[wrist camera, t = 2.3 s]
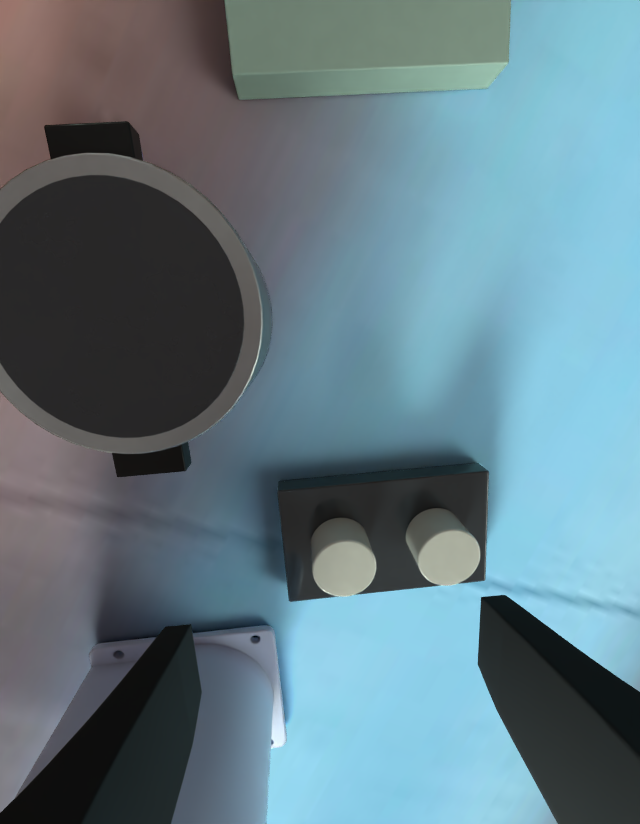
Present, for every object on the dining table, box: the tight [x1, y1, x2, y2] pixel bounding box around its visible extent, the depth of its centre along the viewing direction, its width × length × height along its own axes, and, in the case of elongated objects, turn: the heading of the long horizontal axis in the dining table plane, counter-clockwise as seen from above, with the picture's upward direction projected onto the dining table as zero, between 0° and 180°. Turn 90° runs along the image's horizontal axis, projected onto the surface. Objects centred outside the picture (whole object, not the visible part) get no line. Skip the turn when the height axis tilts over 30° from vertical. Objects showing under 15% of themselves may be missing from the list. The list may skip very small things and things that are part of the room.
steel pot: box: [0, 121, 272, 477], centre depth 14 cm, size 9×11×5 cm
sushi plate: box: [277, 463, 489, 602], centre depth 18 cm, size 10×6×3 cm, turn 94°
